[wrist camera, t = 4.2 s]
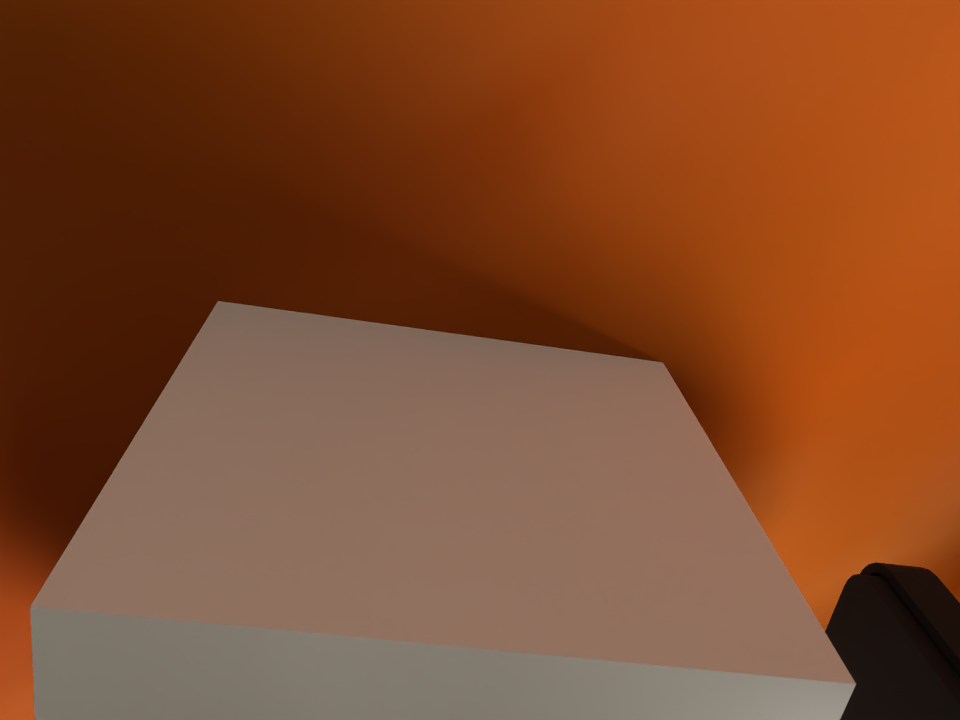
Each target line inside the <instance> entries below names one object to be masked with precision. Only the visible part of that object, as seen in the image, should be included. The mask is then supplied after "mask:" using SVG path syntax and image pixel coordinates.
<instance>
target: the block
mask: <svg viewBox="0 0 960 720" xmlns="http://www.w3.org/2000/svg"><path fill="white" fill-rule="evenodd" d="M30 610H31V634H32V658H33V682H34V707H35V720H840V719H841V716H842V714H843V712H844V710H845V708H846V705H847V703H848V701H849V699H850V697H851V694H852V692H853V690H854V688H855V686H856V683H855V681H854V680H853V678H852V676H851V675H850V673H849V671H848V670H847V668H846V666H845V665H844V663H843V661H842V660H841V658H840V656H839V655H838V653H837V651H836V650H835V648H834V646H833V645H832V643H831V641H830V640H829V638H828V636H827V635H826V633H825V631H824V630H823V628H822V626H821V625H820V623H819V621H818V620H817V618H816V616H815V615H814V613H813V611H812V610H811V608H810V606H809V605H808V603H807V601H806V600H805V598H804V596H803V595H802V593H801V591H800V590H799V588H798V586H797V585H796V583H795V581H794V580H793V578H792V576H791V575H790V573H789V571H788V570H787V568H786V566H785V565H784V563H783V561H782V560H781V558H780V556H779V555H778V553H777V551H776V550H775V548H774V546H773V545H772V543H771V541H770V540H769V538H768V536H767V535H766V533H765V531H764V530H763V528H762V526H761V525H760V523H759V521H758V520H757V518H756V516H755V515H754V513H753V511H752V510H751V508H750V506H749V505H748V503H747V501H746V500H745V498H744V496H743V495H742V493H741V491H740V490H739V488H738V486H737V485H736V483H735V481H734V480H733V478H732V476H731V475H730V473H729V471H728V470H727V468H726V466H725V465H724V463H723V461H722V460H721V458H720V456H719V455H718V453H717V452H716V450H715V448H714V447H713V445H712V443H711V442H710V440H709V438H708V437H707V435H706V433H705V432H704V430H703V428H702V427H701V425H700V423H699V422H698V420H697V418H696V417H695V415H694V413H693V412H692V410H691V408H690V407H689V405H688V403H687V402H686V400H685V398H684V397H683V395H682V393H681V392H680V390H679V388H678V387H677V385H676V383H675V382H674V380H673V378H672V377H671V375H670V373H669V372H668V370H667V368H666V367H665V365H664V363H663V362H656V361H649V360H642V359H635V358H627V357H620V356H613V355H606V354H598V353H591V352H584V351H577V350H570V349H562V348H555V347H548V346H541V345H533V344H526V343H519V342H512V341H504V340H497V339H490V338H483V337H475V336H468V335H461V334H454V333H447V332H439V331H432V330H425V329H418V328H410V327H403V326H396V325H389V324H381V323H374V322H367V321H360V320H352V319H345V318H338V317H331V316H324V315H316V314H309V313H302V312H295V311H287V310H280V309H273V308H266V307H258V306H251V305H244V304H237V303H230V302H222V301H218V302H217V303H216V305H215V307H214V308H213V310H212V312H211V313H210V315H209V316H208V318H207V320H206V321H205V323H204V325H203V326H202V328H201V329H200V331H199V333H198V334H197V336H196V338H195V339H194V341H193V342H192V344H191V346H190V347H189V349H188V351H187V352H186V354H185V355H184V357H183V359H182V360H181V362H180V364H179V365H178V367H177V368H176V370H175V372H174V373H173V375H172V377H171V378H170V380H169V382H168V383H167V385H166V386H165V388H164V390H163V391H162V393H161V395H160V396H159V398H158V399H157V401H156V403H155V404H154V406H153V408H152V409H151V411H150V412H149V414H148V416H147V417H146V419H145V421H144V422H143V424H142V425H141V427H140V429H139V430H138V432H137V434H136V435H135V437H134V439H133V440H132V442H131V443H130V445H129V447H128V448H127V450H126V452H125V453H124V455H123V456H122V458H121V460H120V461H119V463H118V465H117V466H116V468H115V469H114V471H113V473H112V474H111V476H110V478H109V479H108V481H107V482H106V484H105V486H104V487H103V489H102V491H101V492H100V494H99V495H98V497H97V499H96V500H95V502H94V504H93V505H92V507H91V509H90V510H89V512H88V513H87V515H86V517H85V518H84V520H83V522H82V523H81V525H80V526H79V528H78V530H77V531H76V533H75V535H74V536H73V538H72V539H71V541H70V543H69V544H68V546H67V548H66V549H65V551H64V552H63V554H62V556H61V557H60V559H59V561H58V562H57V564H56V565H55V567H54V569H53V570H52V572H51V574H50V575H49V577H48V579H47V580H46V582H45V583H44V585H43V587H42V588H41V590H40V592H39V593H38V595H37V596H36V598H35V600H34V601H33V603H32V605H31V606H30Z"/></svg>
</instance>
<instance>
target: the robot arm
mask: <svg viewBox="0 0 960 720" xmlns="http://www.w3.org/2000/svg"><path fill="white" fill-rule="evenodd" d="M825 633H826V635H827V636H828V638H829V640H830V641H831V643H832V645H833V646H834V648H835V650H836V651H837V653H838V655H839V656H840V658H841V660H842V661H843V663H844V665H845V666H846V668H847V670H848V671H849V673H850V675H851V676H852V678H853V680H854V681H855V683H856V686H855V688H854V690H853V692H852V694H851V697H850V699H849V701H848V703H847V705H846V708H845V710H844V712H843V714H842V716H841V719H840V720H960V603H959V602H958V601H957V599H956V598H955V597H954V596H953V595H952V594H951V592H950V591H949V590H948V589H947V588H946V587H945V585H944V584H943V583H942V582H941V581H940V580H939V578H938V577H937V576H936V575H935V574H934V573H932V572H931V571H930V570H928V569H925V568H921V567H912V566H903V565H894V564H885V563H872V564H869V565H868V566H866V567H865V568H864V569H863V570H862V572H861V573H860V574H857V575H853V576H852V577H850V578H849V579H848V581H847V582H846V584H845V586H844V588H843V591H842V593H841V595H840V598H839V600H838V603H837V605H836V607H835V610H834V612H833V614H832V617H831V619H830V622H829V624H828V626H827V629H826V631H825Z"/></svg>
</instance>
